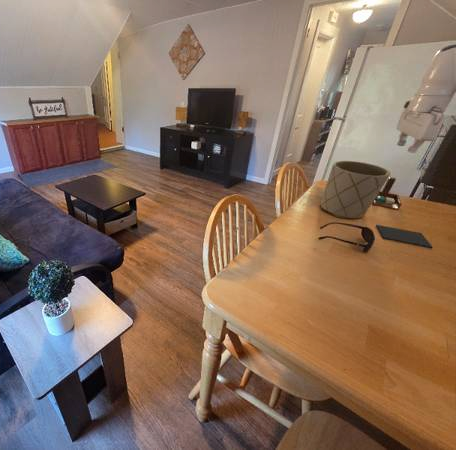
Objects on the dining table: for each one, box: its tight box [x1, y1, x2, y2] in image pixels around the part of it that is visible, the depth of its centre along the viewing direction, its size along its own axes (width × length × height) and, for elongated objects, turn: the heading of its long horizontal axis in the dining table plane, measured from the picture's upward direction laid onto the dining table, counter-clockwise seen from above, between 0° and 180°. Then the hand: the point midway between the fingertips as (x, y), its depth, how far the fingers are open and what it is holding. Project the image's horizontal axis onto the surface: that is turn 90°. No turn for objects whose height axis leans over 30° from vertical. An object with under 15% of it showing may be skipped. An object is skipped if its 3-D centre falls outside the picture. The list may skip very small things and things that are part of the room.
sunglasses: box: [318, 221, 376, 254], centre depth 89 cm, size 14×16×5 cm
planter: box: [320, 160, 391, 219], centre depth 105 cm, size 19×19×20 cm
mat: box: [376, 224, 433, 249], centre depth 93 cm, size 14×10×1 cm
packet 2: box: [385, 197, 395, 204], centre depth 116 cm, size 4×3×2 cm
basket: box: [371, 176, 402, 211], centre depth 116 cm, size 14×10×10 cm
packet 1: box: [375, 195, 385, 202], centre depth 118 cm, size 4×3×2 cm
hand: (405, 148), depth 86 cm, fingers open, 8 cm apart
